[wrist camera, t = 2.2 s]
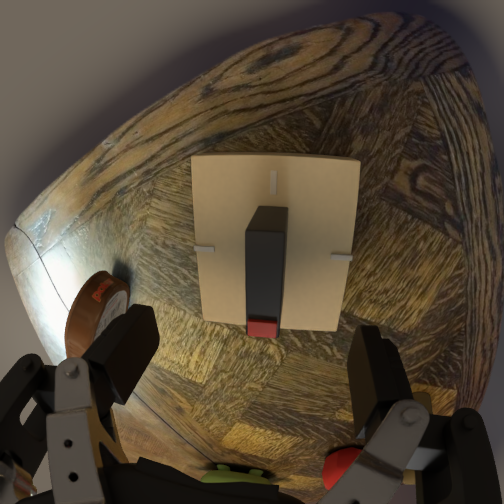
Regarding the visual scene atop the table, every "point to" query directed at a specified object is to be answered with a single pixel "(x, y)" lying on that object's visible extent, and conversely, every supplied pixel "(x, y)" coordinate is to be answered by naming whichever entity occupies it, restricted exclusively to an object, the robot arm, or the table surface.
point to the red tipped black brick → (265, 270)
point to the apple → (338, 465)
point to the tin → (94, 311)
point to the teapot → (233, 476)
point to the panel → (298, 234)
